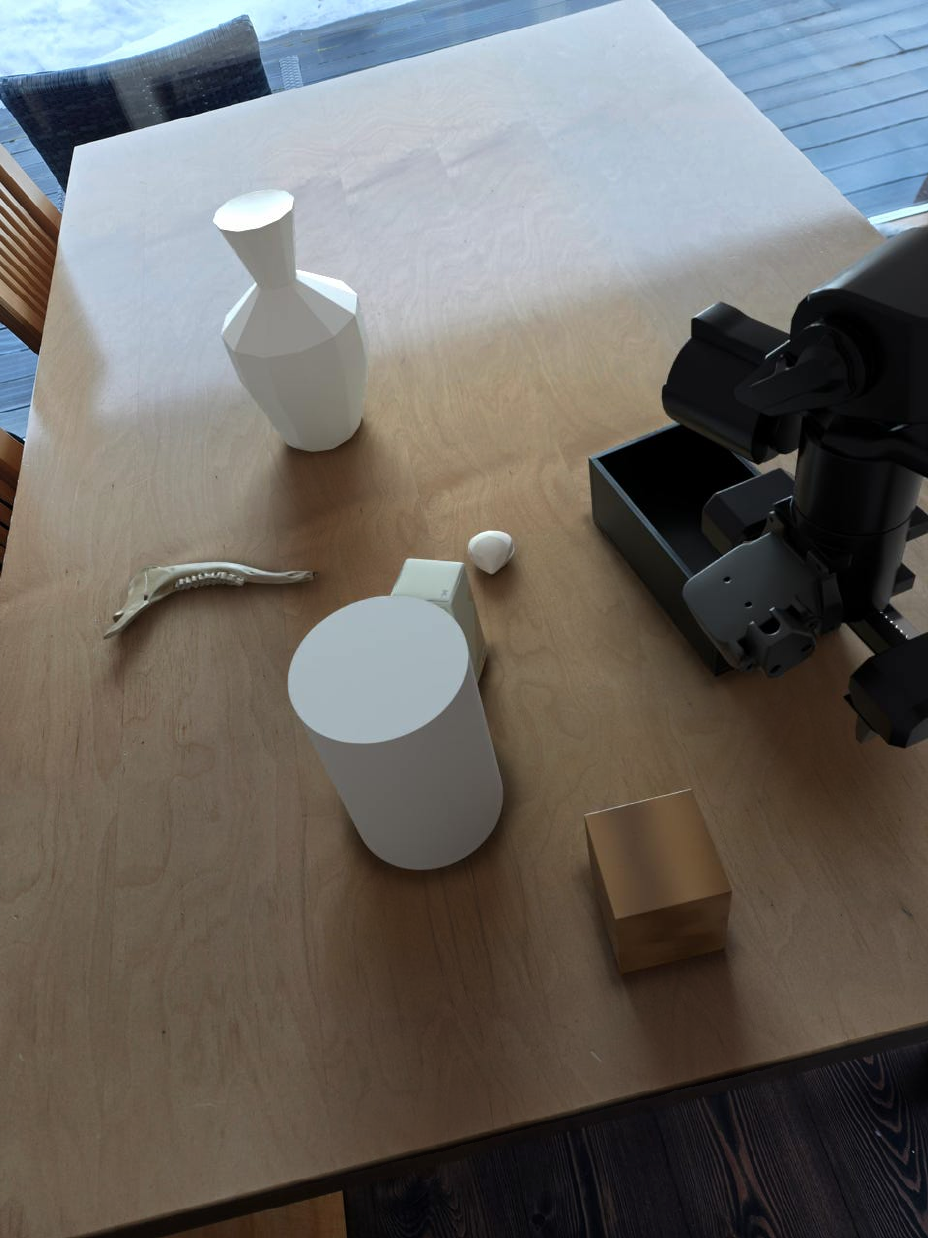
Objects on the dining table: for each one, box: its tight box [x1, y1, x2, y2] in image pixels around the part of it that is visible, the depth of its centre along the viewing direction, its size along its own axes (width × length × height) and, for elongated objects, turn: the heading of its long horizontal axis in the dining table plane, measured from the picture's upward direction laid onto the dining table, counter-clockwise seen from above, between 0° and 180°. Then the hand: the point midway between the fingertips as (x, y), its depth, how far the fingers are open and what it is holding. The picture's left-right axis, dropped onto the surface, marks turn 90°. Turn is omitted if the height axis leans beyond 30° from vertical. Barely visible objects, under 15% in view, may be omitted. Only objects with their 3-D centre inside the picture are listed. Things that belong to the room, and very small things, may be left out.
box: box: [389, 558, 489, 684], centre depth 75 cm, size 5×4×11 cm
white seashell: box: [467, 530, 515, 575], centre depth 85 cm, size 4×5×2 cm
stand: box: [583, 788, 733, 975], centre depth 60 cm, size 7×7×9 cm
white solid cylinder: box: [287, 595, 504, 871], centre depth 65 cm, size 12×12×17 cm
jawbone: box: [102, 561, 320, 640], centre depth 90 cm, size 9×20×2 cm, turn 107°
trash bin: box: [587, 421, 816, 678], centre depth 79 cm, size 21×11×8 cm, turn 23°
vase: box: [212, 188, 370, 453], centre depth 94 cm, size 14×14×25 cm
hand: (817, 683), depth 58 cm, fingers open, 9 cm apart
